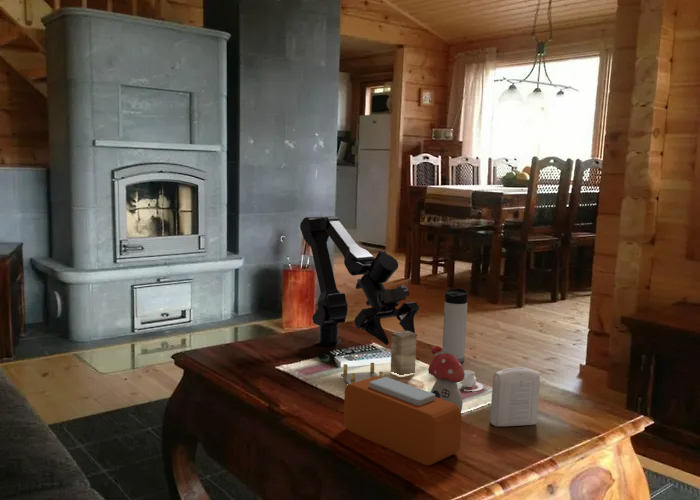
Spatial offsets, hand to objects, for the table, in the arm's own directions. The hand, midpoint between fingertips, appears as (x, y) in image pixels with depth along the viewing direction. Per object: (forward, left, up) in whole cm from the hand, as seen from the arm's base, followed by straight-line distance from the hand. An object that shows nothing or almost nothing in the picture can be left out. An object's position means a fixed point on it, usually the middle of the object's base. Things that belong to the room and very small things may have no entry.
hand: (401, 341), depth 174 cm
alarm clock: (+42, +7, -9) cm, 43 cm away
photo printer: (+25, +29, -9) cm, 40 cm away
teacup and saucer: (+3, +21, -9) cm, 23 cm away
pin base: (+9, -8, -9) cm, 15 cm away
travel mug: (-17, +12, -9) cm, 23 cm away
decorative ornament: (+25, +14, -9) cm, 30 cm away
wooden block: (+1, +1, -9) cm, 9 cm away
